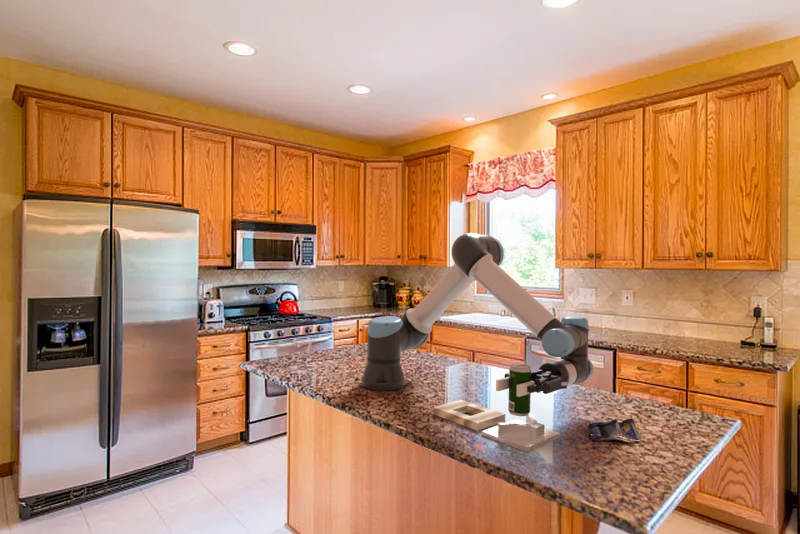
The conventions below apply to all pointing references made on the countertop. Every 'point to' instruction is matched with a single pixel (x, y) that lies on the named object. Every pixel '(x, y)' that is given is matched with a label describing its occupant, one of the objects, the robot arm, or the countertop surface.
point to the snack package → (614, 430)
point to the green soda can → (516, 377)
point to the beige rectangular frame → (477, 421)
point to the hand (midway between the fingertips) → (507, 388)
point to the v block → (521, 433)
